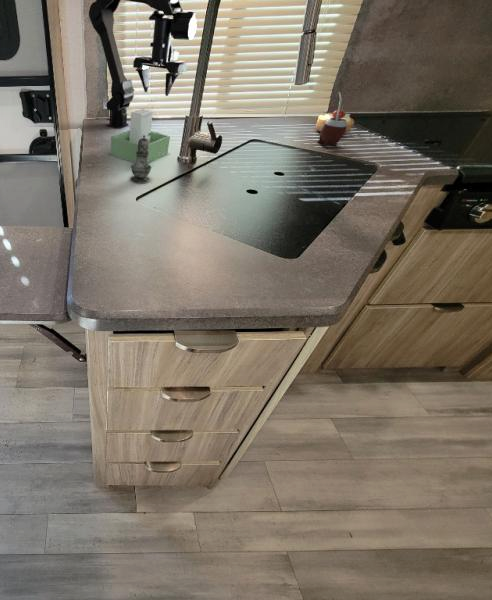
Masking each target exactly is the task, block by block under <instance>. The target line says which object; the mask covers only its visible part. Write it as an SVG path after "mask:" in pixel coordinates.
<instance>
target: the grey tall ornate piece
mask: <svg viewBox="0 0 492 600" xmlns="http://www.w3.org/2000/svg"><path fill="white" fill-rule="evenodd" d="M148 145H149V141H148V140H147V139H146V138H145V135H144V136H143V138H142V139H140V140H139V141H138V150H137V152H136V154H137V159H136V163H135V162H134V163H133V164H131V165H130V169H131V173H132V175H133V176H132V177H130V181H132V182H133V183H134V184H135V183H136V184H147V183H149V182H150V178H149V177H148V176H149V174H150V172H151V171H152V168H153V167H152V165H150V164H149V162H148V163H147V158H148V154H149V152H148Z"/></svg>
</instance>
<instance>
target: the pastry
mask: <svg viewBox="0 0 492 600" xmlns="http://www.w3.org/2000/svg"><path fill="white" fill-rule="evenodd" d="M341 106H342V107H341V109H340V111H339V115H338V118H342V119H345V120H346V121H347V128H346V131H345V133H344V134H343V135H346V134H347V133H349V131H350V130H351V129H352V128H353V125H354V124H355V120H354V119H353V118H352V117H350V116H349V115H347V114H346V112H345V111H344V105H341ZM337 111H338V109H335V110H334V111H333V113H331V112H329V113H328V112H327V113H322V114H321V115H319V116H318V118H317V121H316V130H317V131H318V132H320V133H321V130H322V127H323V125H324V124H325V122H326V121H327V120H328V119H330V118H336V116H337Z"/></svg>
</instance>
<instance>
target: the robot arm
mask: <svg viewBox="0 0 492 600" xmlns="http://www.w3.org/2000/svg"><path fill="white" fill-rule="evenodd" d="M121 1H122V0H95V1H94V2H92V3H91V4H90V6H89V10H88V18H89V21H90V23H91V25H92V27H93V29H94V31H95V32H96V33H97V35H98V36H99V38H100V42H101V46H102V49H103V53H104V57H105V60H106V64H107V68H108V71H109V75H110V79H111V88H110V93H111V97H110V98H109V100H108V101H107V102H106V103H105V104H106V109H107V111H109V120H108V121H109V122H108V123H106V126H107V127H112V128H115V129H122V128H124V127H126V126H129V123H127V121H128V113H127V111H128V110H127V108H129V107H130V105H131V103H132V101H133V100H134V97H135V93H134V92H135V89H134V87H133V81H132V79H131V78H130V79H127V78H126V76H125V72H124V68H123V65H122V61H121V57H120V54H119V49H118V45H117V42H116V41H117V40H116V38H115V34H114V24H115V17H114V13H115V12H116V11H117V9H118V8H119V5H120V3H121ZM125 1H126V2H133V3H138V4H144V5H148V7H150V8H152V9H154V10H153V12H152V13H151V15H150V16H149V17H148V20H149V21H154V27H153V38H152V42H150V45H149V46H150V48H151V47H152V48H151V56H143V55H142V56H138V57H135V58H134V60H133V64H132V68H135V71H136V72H137V73H138V74H137V75H138V76H139V78H140V81H141V84H142V88H143V91H144V93H147V92H148V90H149V80H150V73H151V71H152V69H153V68H156V69H165V70H167V73H165V89H164V92H165V93H164V94H165V97H168V96H169V95H170V92H171V90H172V88H173V85H174V83H175V82H176V80H177V78H178V77H179V76H180V75H182V74H183V73H184V72H187V67H188V64H187V61H185V60H180V59H179V55H180V52H178V51H177V50H176V49H174V48H173V46H174V44H173V41H171V40H172V39H173V40H179V41H192V40H193V39H194V37H195V35H196V31H197V26H198V25H197V18H196V10H195V11H184V10H183V7H182V5H181V2H180V0H125ZM170 16H172V17H170ZM178 59H179V60H178Z"/></svg>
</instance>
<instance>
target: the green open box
mask: <svg viewBox="0 0 492 600" xmlns="http://www.w3.org/2000/svg"><path fill="white" fill-rule="evenodd" d="M170 138H171V136H170V135H168V134H164V133H159V132H156V131H152V130H151V134H150V143H149V145H148V152H149V154H148V158H147V163H148V164H149V163H151V162H153V161H155V160H157V159H159V158H162V157H164V156H167V155H168V154H169V153H168V152H169V146H170ZM129 139H130V129H129V130H127V131H124V132H120V133H118V134H114V135H111V136H110V155H111V156H114V157H117V158H120V159H123V160H126V161H129V162H132V163H134V164H135V163H136V159H137V154H136V152H137V150H138V143H134V142H131V141H129Z"/></svg>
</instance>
